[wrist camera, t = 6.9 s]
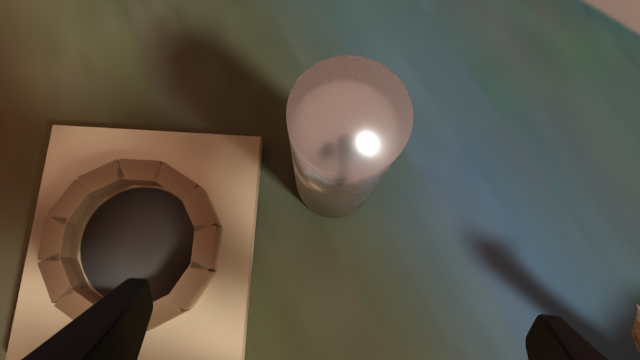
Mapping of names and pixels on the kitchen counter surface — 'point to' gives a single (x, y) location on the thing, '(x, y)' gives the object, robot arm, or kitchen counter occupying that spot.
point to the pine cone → (636, 329)
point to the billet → (345, 131)
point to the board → (144, 237)
